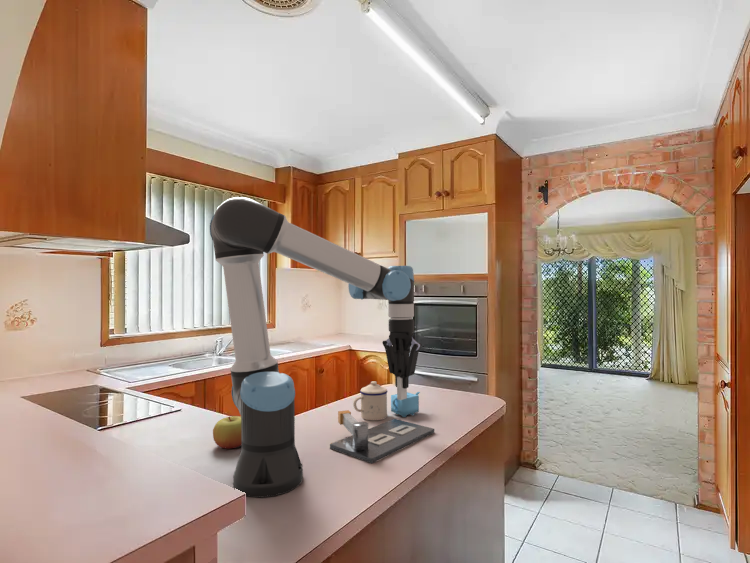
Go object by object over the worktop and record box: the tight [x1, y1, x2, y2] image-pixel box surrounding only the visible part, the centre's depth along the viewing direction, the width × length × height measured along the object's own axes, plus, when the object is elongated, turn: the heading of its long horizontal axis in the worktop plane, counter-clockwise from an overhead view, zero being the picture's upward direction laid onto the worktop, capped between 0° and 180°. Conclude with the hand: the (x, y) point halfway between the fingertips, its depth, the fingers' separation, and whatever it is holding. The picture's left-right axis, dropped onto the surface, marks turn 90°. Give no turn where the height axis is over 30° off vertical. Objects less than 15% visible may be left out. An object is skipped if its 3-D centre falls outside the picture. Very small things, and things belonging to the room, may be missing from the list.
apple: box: [212, 415, 242, 450], centre depth 118 cm, size 10×10×8 cm
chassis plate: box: [329, 418, 435, 464], centre depth 120 cm, size 28×15×2 cm, turn 139°
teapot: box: [390, 391, 421, 418], centre depth 145 cm, size 12×6×8 cm, turn 125°
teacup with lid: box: [352, 381, 388, 421], centre depth 141 cm, size 12×9×12 cm
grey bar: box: [337, 409, 369, 450], centre depth 118 cm, size 18×4×6 cm, turn 20°
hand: (402, 398), depth 125 cm, fingers closed
